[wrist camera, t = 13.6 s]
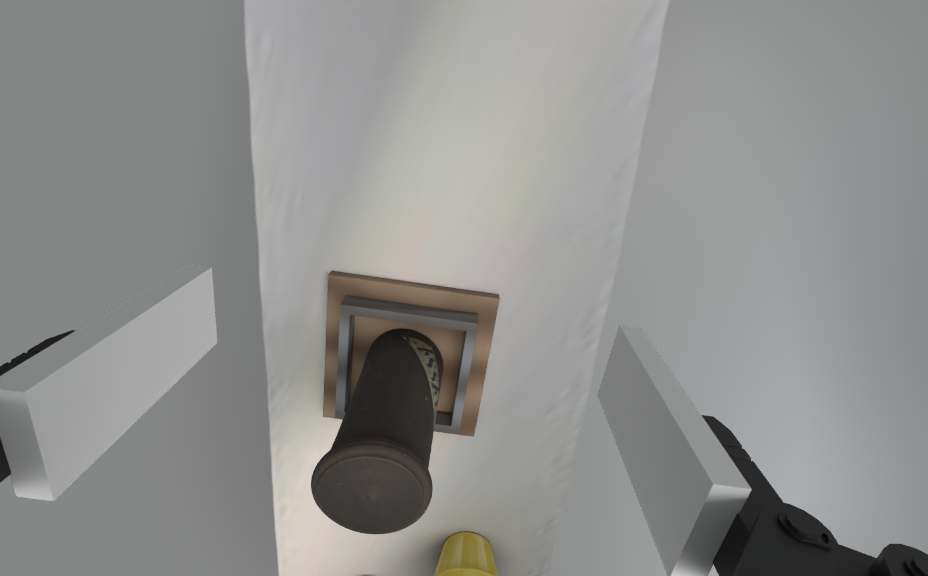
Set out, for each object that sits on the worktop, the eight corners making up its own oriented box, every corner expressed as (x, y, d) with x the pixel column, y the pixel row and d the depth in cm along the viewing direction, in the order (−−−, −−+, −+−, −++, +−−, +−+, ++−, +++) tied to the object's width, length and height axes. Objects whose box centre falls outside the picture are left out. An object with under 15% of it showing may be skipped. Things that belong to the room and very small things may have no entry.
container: (433, 402, 54) (413, 557, 36) (358, 382, 54) (296, 529, 35) (455, 338, 51) (445, 472, 33) (375, 316, 50) (318, 439, 32)
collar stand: (331, 271, 50) (321, 283, 47) (498, 294, 51) (500, 308, 47) (326, 410, 57) (316, 430, 53) (473, 429, 57) (473, 450, 54)
